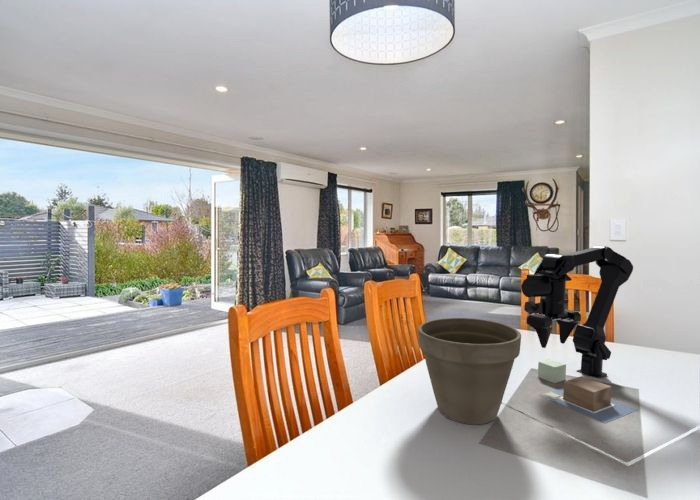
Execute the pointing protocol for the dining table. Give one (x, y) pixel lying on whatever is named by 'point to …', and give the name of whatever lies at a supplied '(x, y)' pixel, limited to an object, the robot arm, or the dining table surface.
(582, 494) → the dining table surface
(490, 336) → the plant pot
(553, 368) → the sage cube
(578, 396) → the walnut base block
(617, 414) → the board
